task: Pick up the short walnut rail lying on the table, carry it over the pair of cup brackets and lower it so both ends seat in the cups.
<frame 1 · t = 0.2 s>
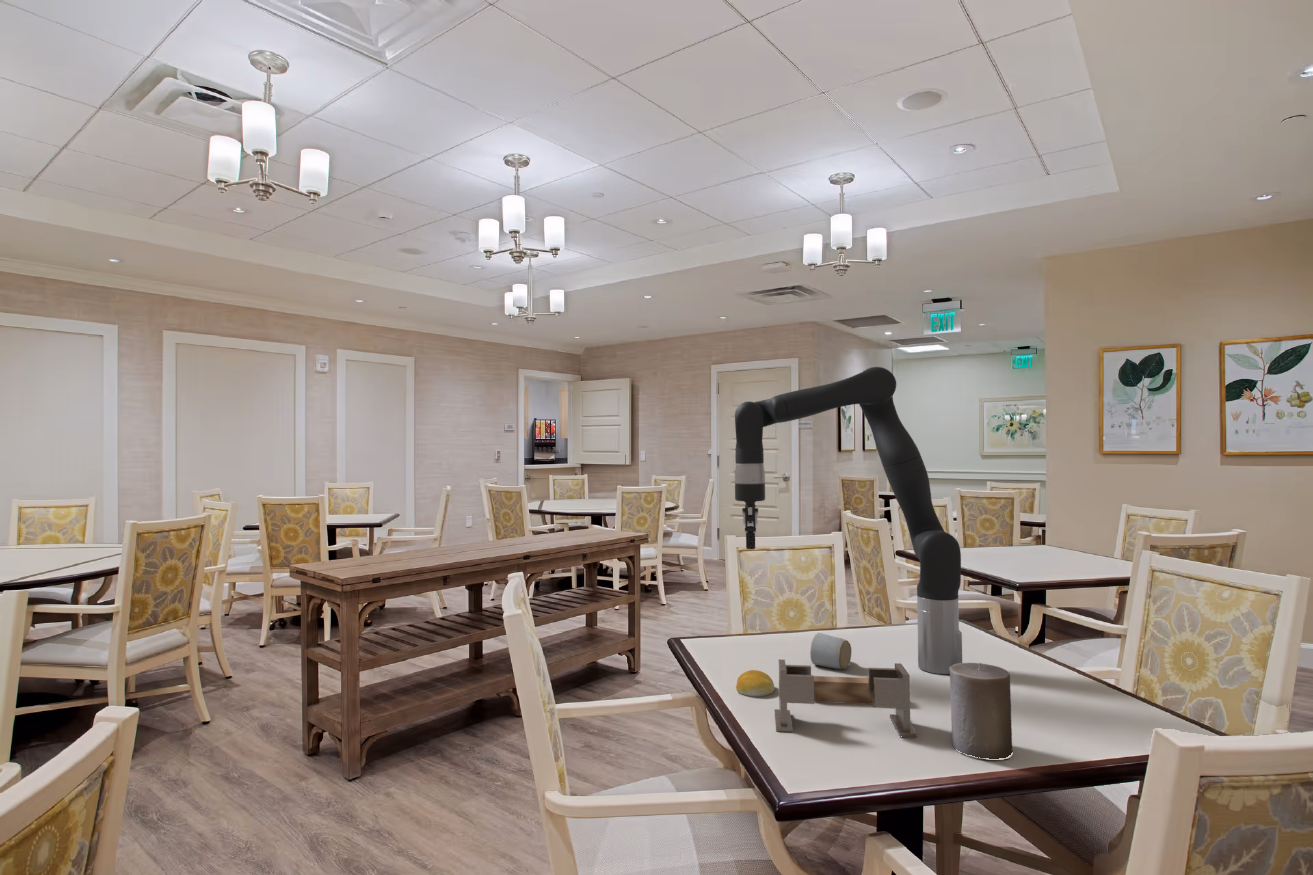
hand: (750, 546, 170), 29 cm above the table, tool pointing down, fingers open, 8 cm apart
rail: (850, 701, 143), on the table
ceramic mug: (832, 666, 167), on the table
bread roll: (754, 691, 150), on the table
cup brackets: (842, 724, 130), on the table
pillar candle: (981, 750, 119), on the table
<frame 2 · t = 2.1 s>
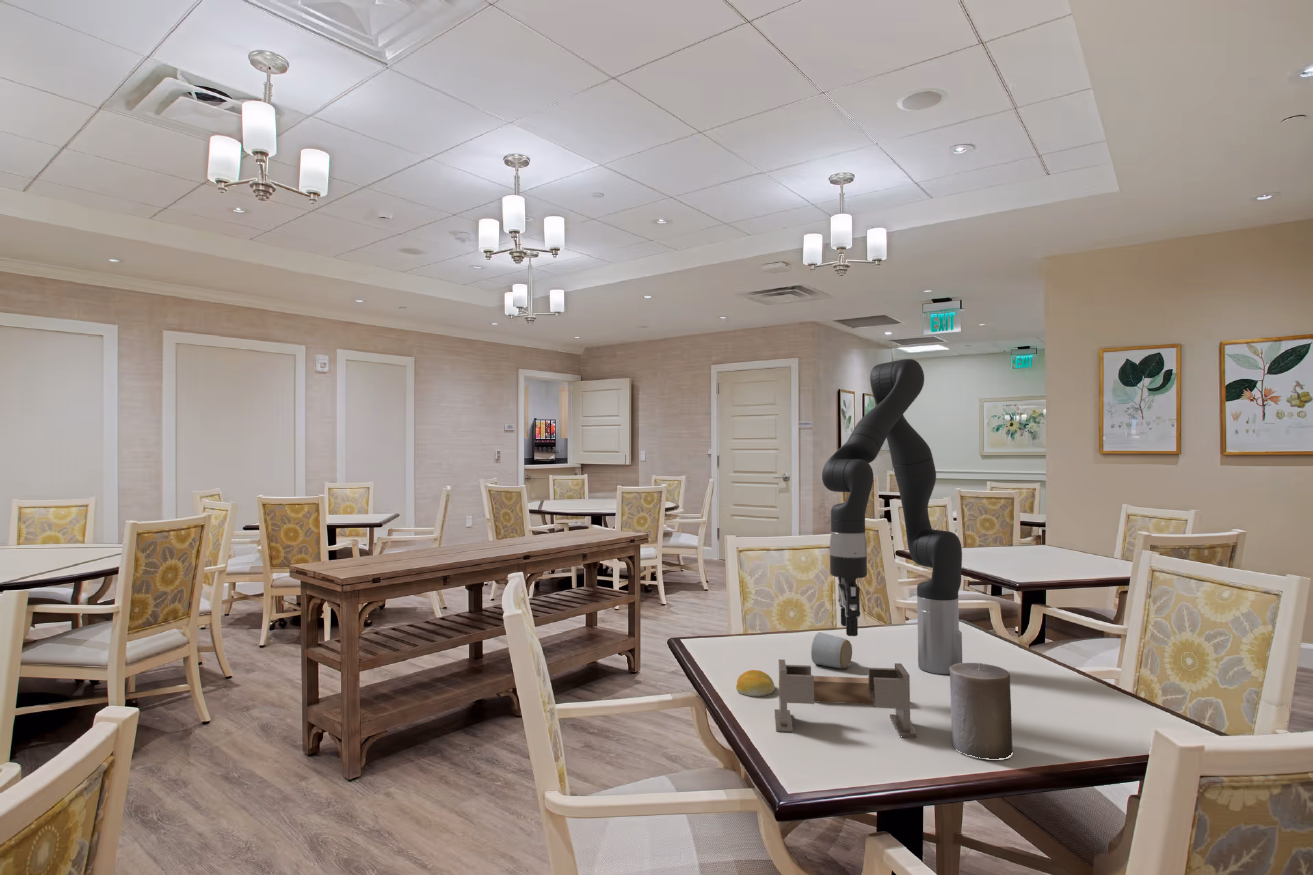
hand: (849, 630, 143), 14 cm above the table, tool pointing down, fingers open, 8 cm apart
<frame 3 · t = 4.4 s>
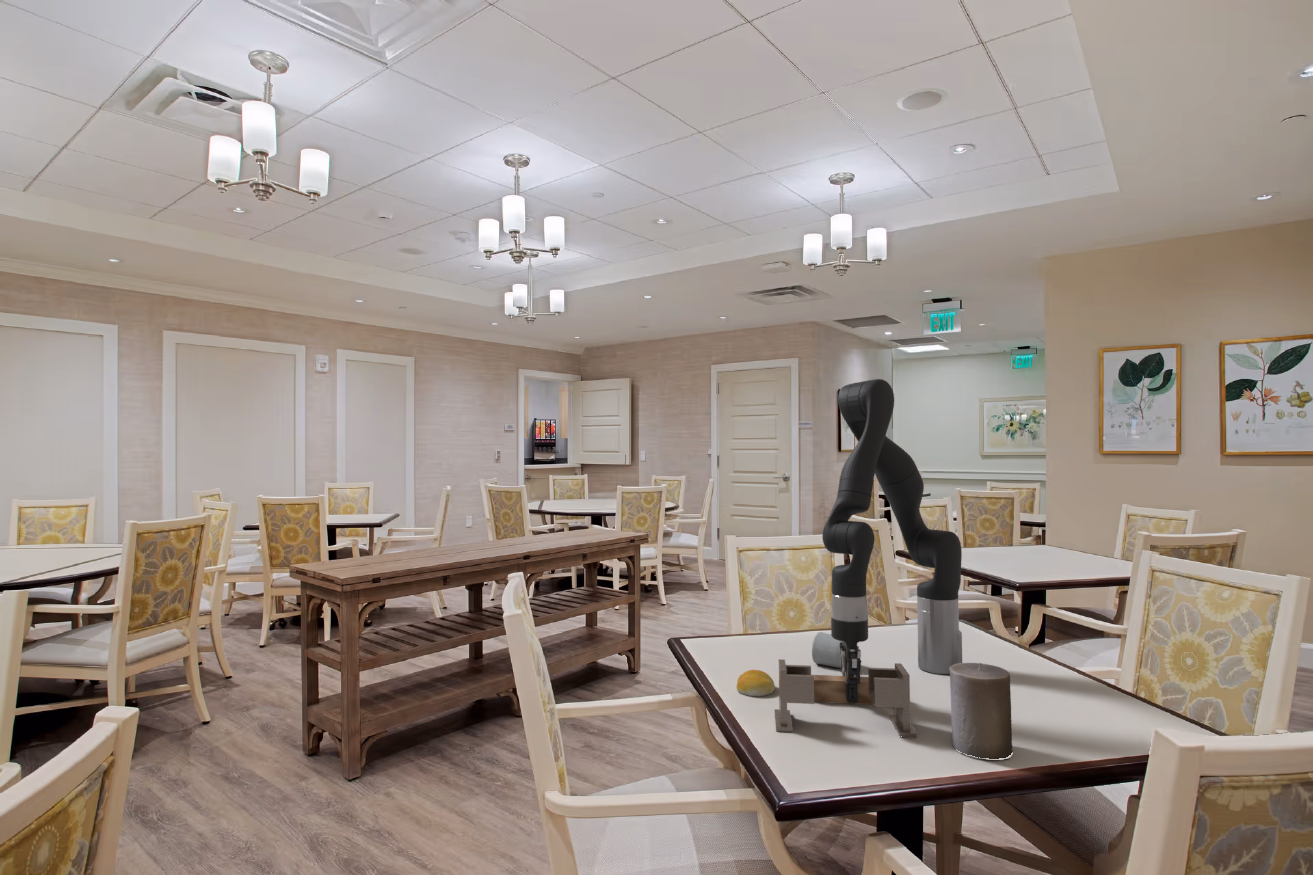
hand: (850, 697, 143), 0 cm above the table, tool pointing down, fingers closed on rail, 3 cm apart
rail: (850, 700, 143), on the table, touching gripper
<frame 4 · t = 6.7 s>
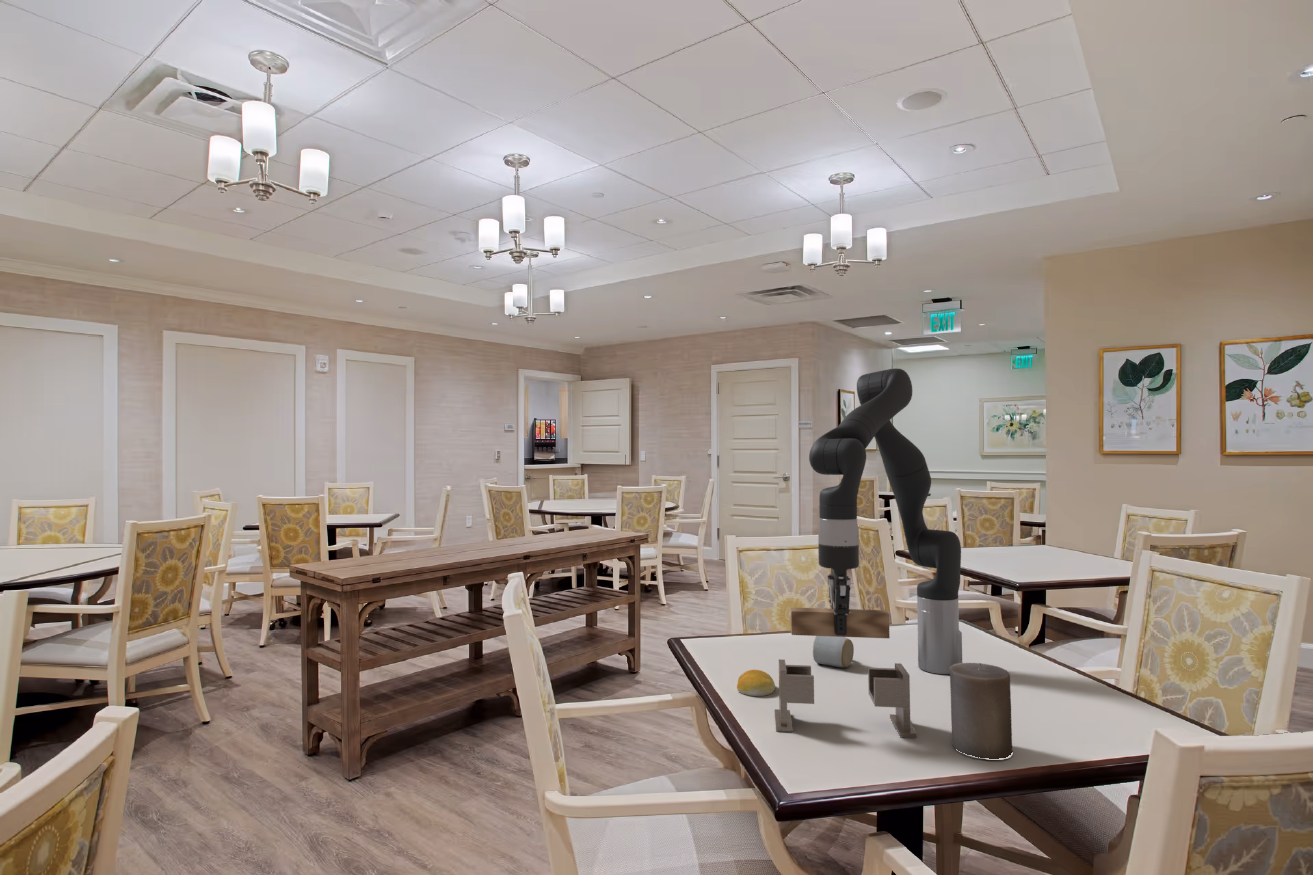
hand: (839, 631, 130), 18 cm above the table, tool pointing down, fingers closed on rail, 3 cm apart
rail: (839, 634, 130), point 17 cm above the table, touching gripper
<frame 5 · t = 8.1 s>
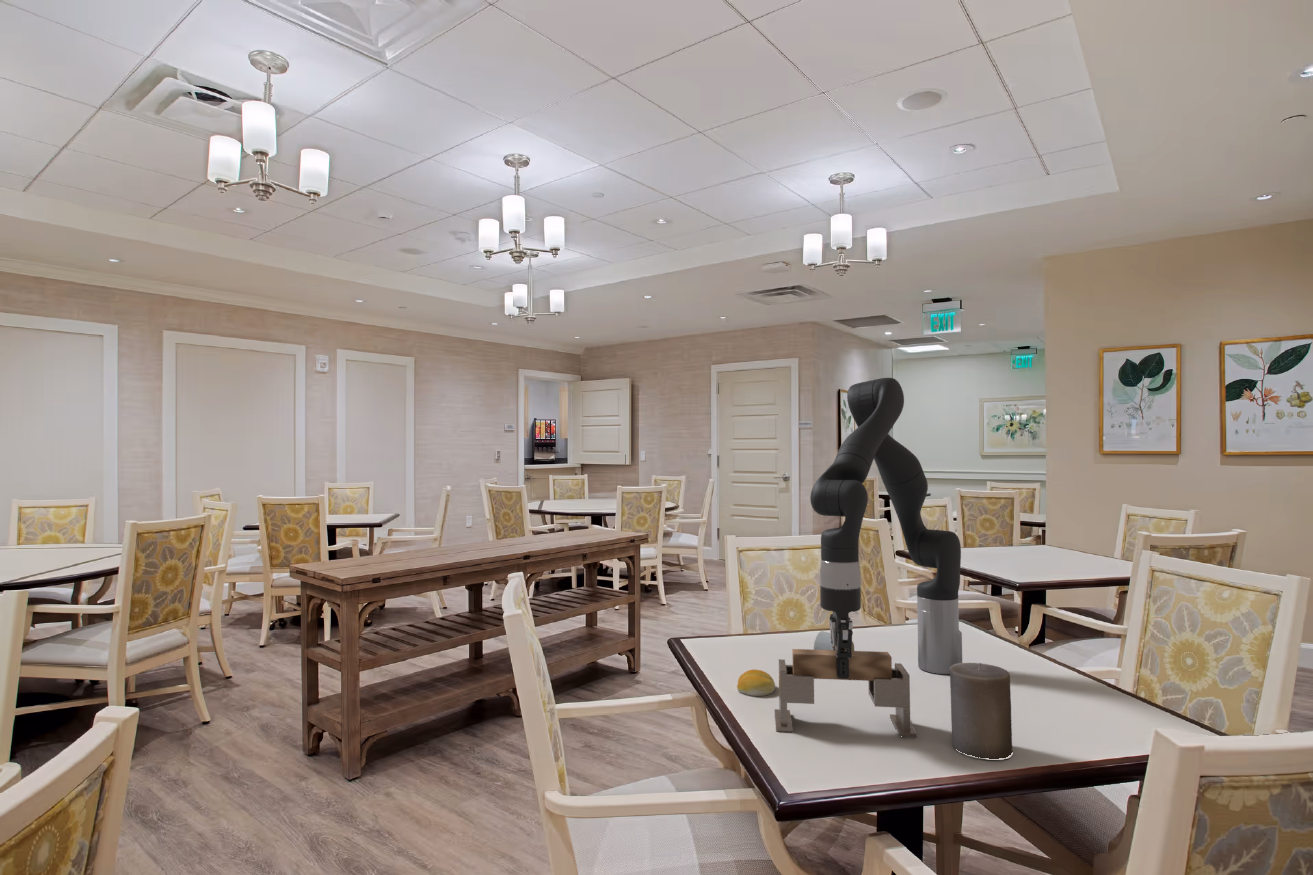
hand: (841, 673, 130), 10 cm above the table, tool pointing down, fingers closed on rail, 3 cm apart
rail: (841, 676, 130), point 9 cm above the table, touching gripper
when the fingers open (8 cm above the table, at t = 9.2 s): rail drops 1 cm, resting on cup brackets.
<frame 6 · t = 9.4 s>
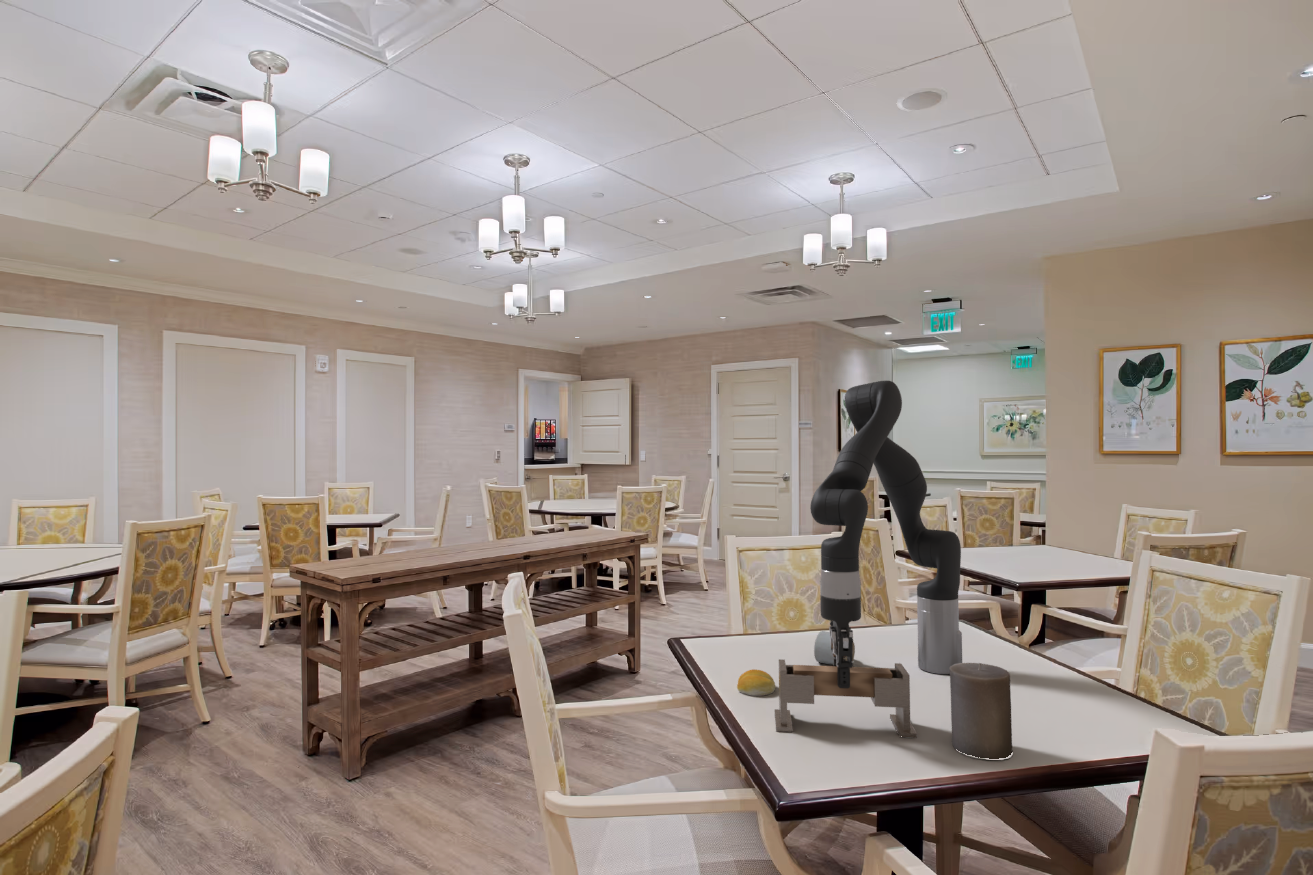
hand: (841, 682, 130), 8 cm above the table, tool pointing down, fingers open, 5 cm apart
rail: (841, 692, 130), point 6 cm above the table, touching cup brackets
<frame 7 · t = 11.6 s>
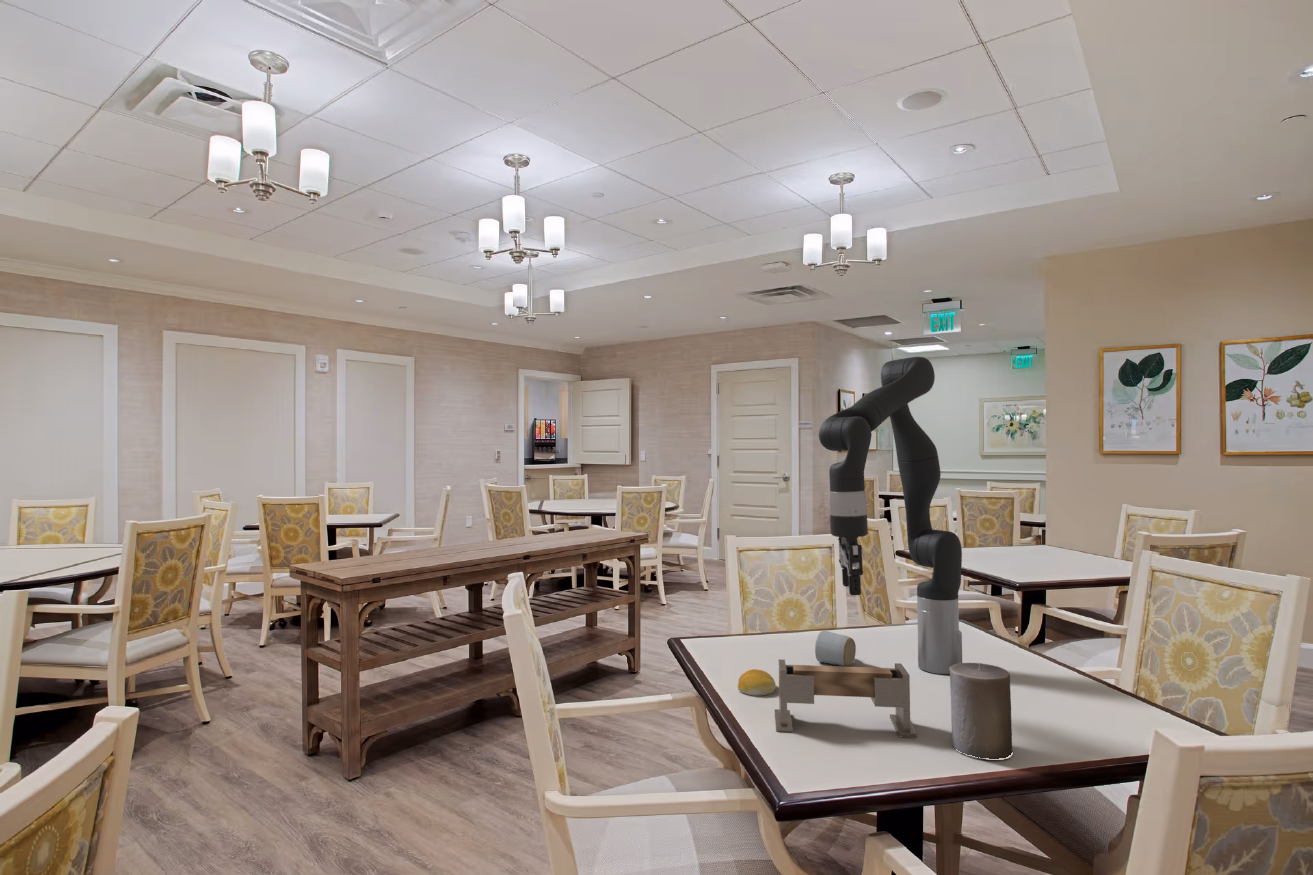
hand: (851, 590, 142), 23 cm above the table, tool pointing down, fingers open, 8 cm apart
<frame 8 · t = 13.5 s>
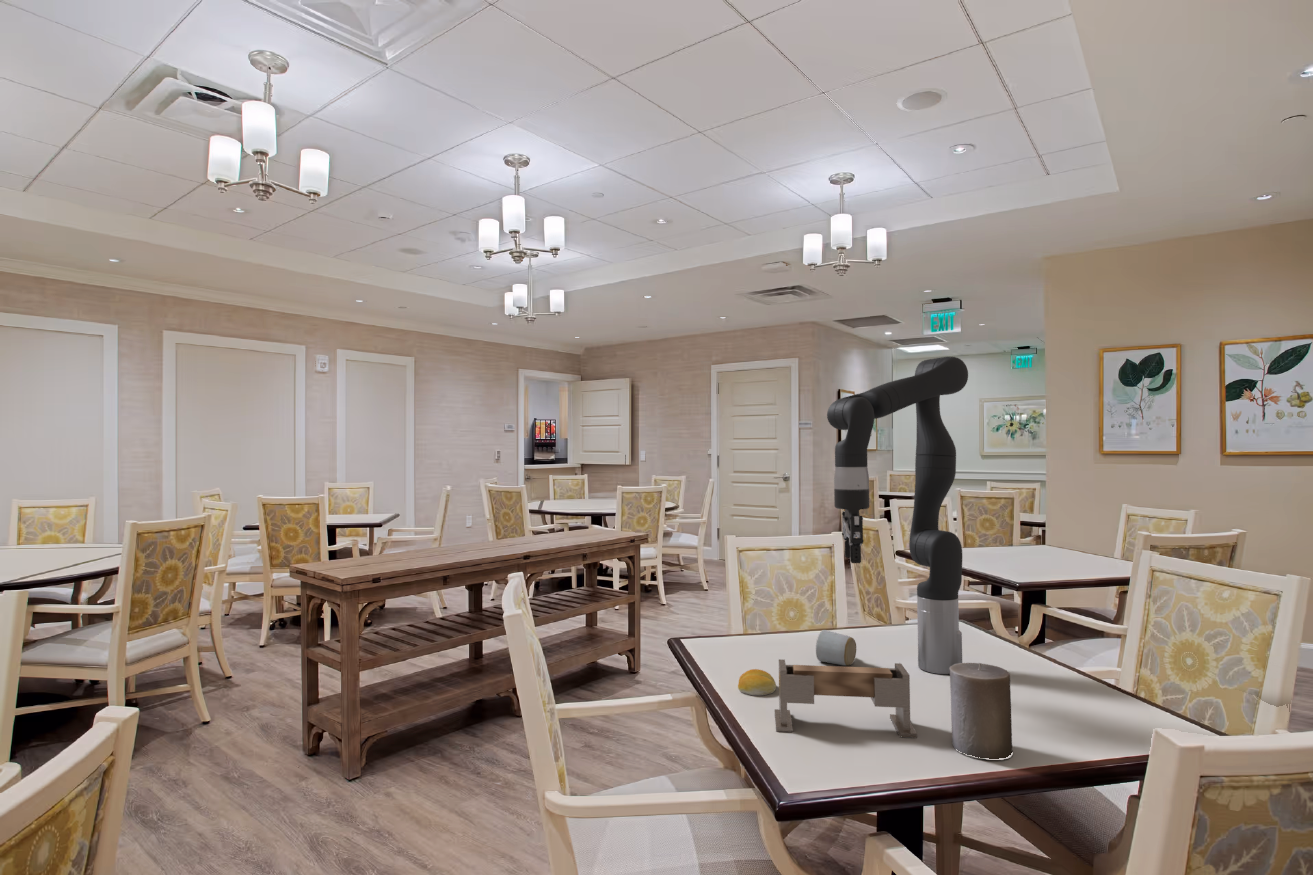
hand: (852, 560, 151), 28 cm above the table, tool pointing down, fingers open, 8 cm apart
at the end: rail 0.2 cm off-centre on the cup brackets, point 6.0 cm above the cup brackets's base; rail tilted 0°; the gripper is holding nothing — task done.
